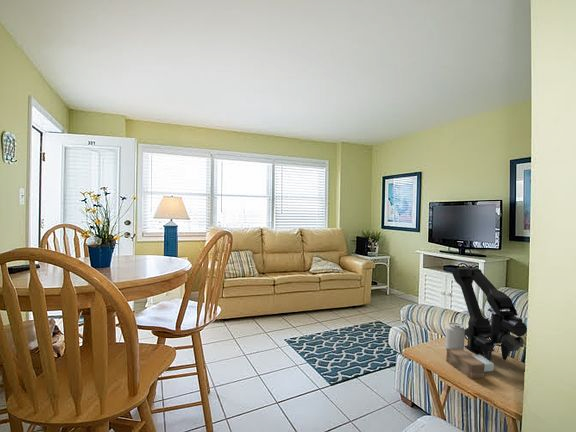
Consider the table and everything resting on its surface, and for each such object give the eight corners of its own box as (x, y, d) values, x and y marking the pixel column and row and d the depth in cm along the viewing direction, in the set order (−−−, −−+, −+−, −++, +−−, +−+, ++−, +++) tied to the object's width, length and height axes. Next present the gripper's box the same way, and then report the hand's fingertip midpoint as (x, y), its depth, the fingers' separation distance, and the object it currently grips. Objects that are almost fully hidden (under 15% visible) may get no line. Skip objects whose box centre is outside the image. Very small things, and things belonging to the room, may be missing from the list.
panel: (455, 363, 129) (455, 356, 129) (479, 361, 131) (479, 354, 131) (468, 373, 122) (468, 366, 122) (493, 370, 124) (494, 363, 124)
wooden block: (446, 361, 131) (447, 348, 130) (457, 359, 132) (458, 347, 132) (471, 379, 118) (472, 365, 118) (483, 377, 120) (484, 363, 119)
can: (455, 355, 136) (457, 329, 135) (441, 347, 143) (443, 322, 142) (467, 352, 139) (469, 326, 138) (452, 344, 146) (454, 320, 145)
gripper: (499, 336, 118) (496, 374, 119) (535, 331, 122) (532, 368, 124) (474, 324, 128) (472, 359, 130) (509, 320, 133) (506, 354, 134)
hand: (496, 361), depth 129 cm, fingers open, 8 cm apart
